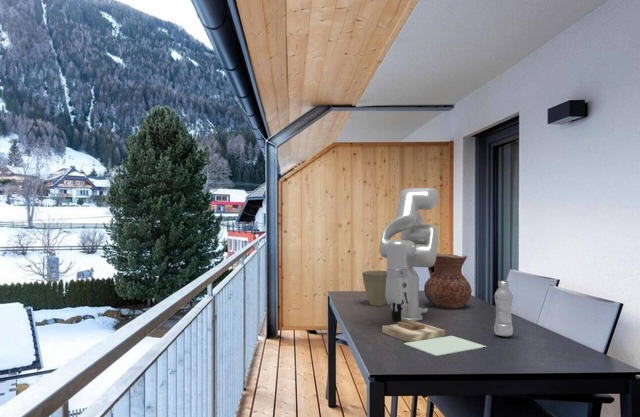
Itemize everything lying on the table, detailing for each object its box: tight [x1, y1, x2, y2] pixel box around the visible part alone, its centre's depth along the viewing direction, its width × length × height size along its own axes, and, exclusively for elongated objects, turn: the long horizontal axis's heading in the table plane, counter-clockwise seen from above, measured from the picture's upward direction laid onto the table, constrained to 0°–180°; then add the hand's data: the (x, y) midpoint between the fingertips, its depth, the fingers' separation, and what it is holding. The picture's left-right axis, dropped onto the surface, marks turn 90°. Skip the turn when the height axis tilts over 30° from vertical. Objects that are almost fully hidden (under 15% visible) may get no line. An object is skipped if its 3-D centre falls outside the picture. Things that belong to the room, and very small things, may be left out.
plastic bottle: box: [493, 280, 514, 338], centre depth 175 cm, size 6×7×20 cm
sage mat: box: [403, 335, 487, 357], centre depth 162 cm, size 22×16×1 cm
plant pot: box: [361, 270, 387, 307], centre depth 236 cm, size 15×15×16 cm
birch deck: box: [381, 321, 446, 343], centre depth 177 cm, size 16×16×2 cm
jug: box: [423, 253, 472, 310], centre depth 233 cm, size 22×21×25 cm
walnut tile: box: [397, 320, 425, 331], centre depth 178 cm, size 6×8×2 cm
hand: (396, 321), depth 185 cm, fingers closed
